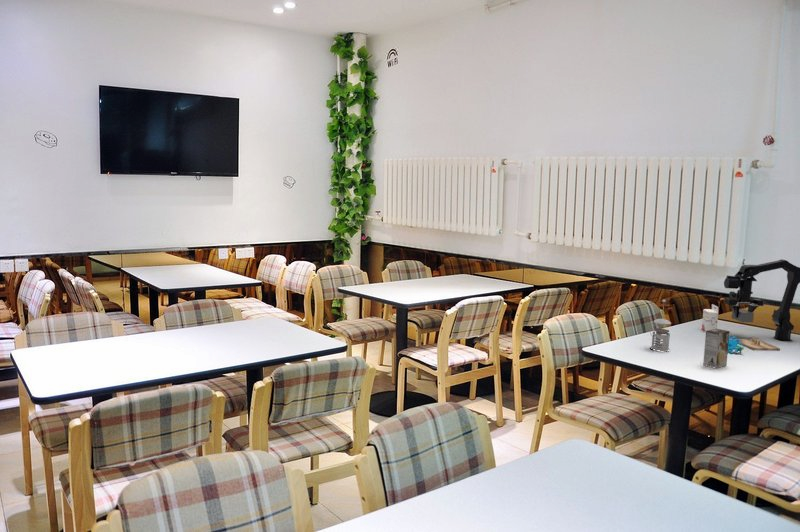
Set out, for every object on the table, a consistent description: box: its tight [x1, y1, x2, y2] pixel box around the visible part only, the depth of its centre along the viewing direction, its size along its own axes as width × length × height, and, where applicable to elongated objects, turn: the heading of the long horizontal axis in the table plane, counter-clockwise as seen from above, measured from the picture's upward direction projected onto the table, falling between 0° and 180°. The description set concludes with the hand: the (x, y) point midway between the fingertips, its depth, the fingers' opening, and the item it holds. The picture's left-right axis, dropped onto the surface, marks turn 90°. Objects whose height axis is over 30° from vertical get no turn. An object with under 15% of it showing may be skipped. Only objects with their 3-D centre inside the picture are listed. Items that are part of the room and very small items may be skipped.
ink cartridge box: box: [701, 303, 719, 332], centre depth 362 cm, size 9×5×15 cm, turn 179°
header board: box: [733, 337, 781, 352], centre depth 334 cm, size 14×18×4 cm
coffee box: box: [702, 328, 730, 369], centre depth 294 cm, size 9×6×16 cm
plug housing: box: [731, 308, 755, 323], centre depth 348 cm, size 6×10×5 cm, turn 2°
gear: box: [728, 335, 745, 355], centre depth 320 cm, size 11×6×10 cm
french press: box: [649, 299, 672, 351], centre depth 320 cm, size 10×12×25 cm
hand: (742, 317), depth 348 cm, fingers closed on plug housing, 6 cm apart
